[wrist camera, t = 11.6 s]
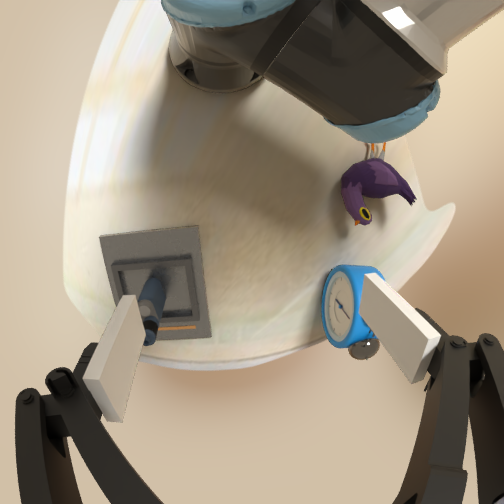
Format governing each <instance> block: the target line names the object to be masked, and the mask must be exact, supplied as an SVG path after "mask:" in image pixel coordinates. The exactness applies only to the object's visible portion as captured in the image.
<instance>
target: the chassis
mask: <svg viewBox="0 0 504 504" xmlns="http://www.w3.org/2000/svg"><path fill="white" fill-rule="evenodd" d="M99 238H100V243H101V248H102V253H103V257H104V262H105V266H106V270H107V274H108V278H109V282H110V286H111V290H112V294H113V297H114V301H115V304H116V307H117V305H118V304H119V302H120V300H121V298H122V296H123V295H136V300H137V304H138V298H139V296H140V294H141V291H142V289H143V287H144V284H145V282H146V281H147V280H148V279H150V278H157V279H158V280H159V281H160V283H161V286H162V289H163V292H164V295H165V298H166V301H165V305H164V309H163V313H162V317H161V321H160V326H159V328H158V332H157V335H156V340H170V339H190V338H205V337H212V333H211V326H210V319H209V312H208V305H207V297H206V290H205V282H204V273H203V265H202V256H201V247H200V238H199V228H198V226H188V227H177V228H166V229H156V230H146V231H136V232H126V233H117V234H108V235H101V236H100V237H99ZM141 319H142V317H141ZM142 323H143V320H142Z"/></svg>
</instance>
